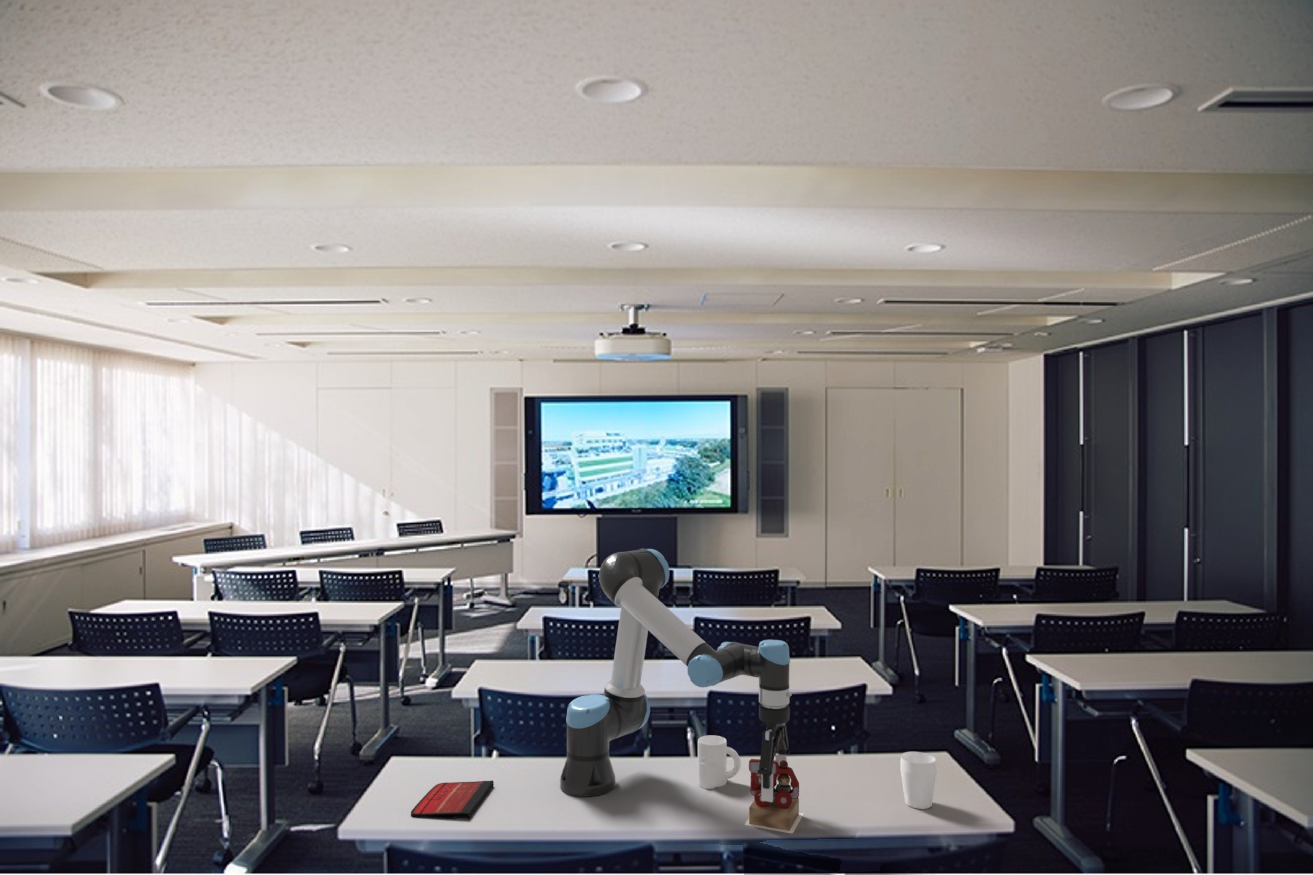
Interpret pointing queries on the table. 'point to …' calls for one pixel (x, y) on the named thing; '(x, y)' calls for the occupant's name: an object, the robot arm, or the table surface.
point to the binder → (452, 800)
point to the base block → (774, 815)
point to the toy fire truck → (782, 790)
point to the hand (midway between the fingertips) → (774, 790)
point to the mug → (715, 762)
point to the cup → (918, 779)
